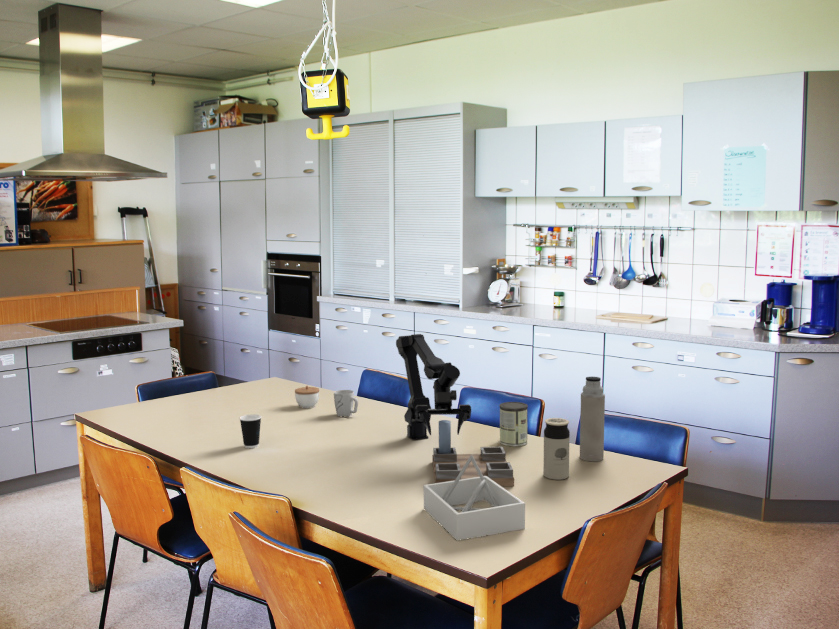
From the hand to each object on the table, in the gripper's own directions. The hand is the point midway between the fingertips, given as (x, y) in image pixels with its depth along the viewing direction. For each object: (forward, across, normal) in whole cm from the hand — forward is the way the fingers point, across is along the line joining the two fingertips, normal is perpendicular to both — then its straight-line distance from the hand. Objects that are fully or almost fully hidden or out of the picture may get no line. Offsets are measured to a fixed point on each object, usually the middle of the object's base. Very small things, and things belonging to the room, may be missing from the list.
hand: (444, 434), depth 240 cm
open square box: (+39, +5, -25) cm, 47 cm away
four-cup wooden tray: (+14, +8, +1) cm, 16 cm away
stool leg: (+6, 0, +5) cm, 8 cm away
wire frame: (+38, +4, -24) cm, 45 cm away
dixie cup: (-9, -69, +24) cm, 74 cm away
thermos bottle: (+4, +51, +11) cm, 52 cm away
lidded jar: (-50, -56, +66) cm, 100 cm away
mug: (-38, -38, +54) cm, 76 cm away
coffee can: (-9, +27, +24) cm, 37 cm away
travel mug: (+17, +35, -2) cm, 39 cm away
